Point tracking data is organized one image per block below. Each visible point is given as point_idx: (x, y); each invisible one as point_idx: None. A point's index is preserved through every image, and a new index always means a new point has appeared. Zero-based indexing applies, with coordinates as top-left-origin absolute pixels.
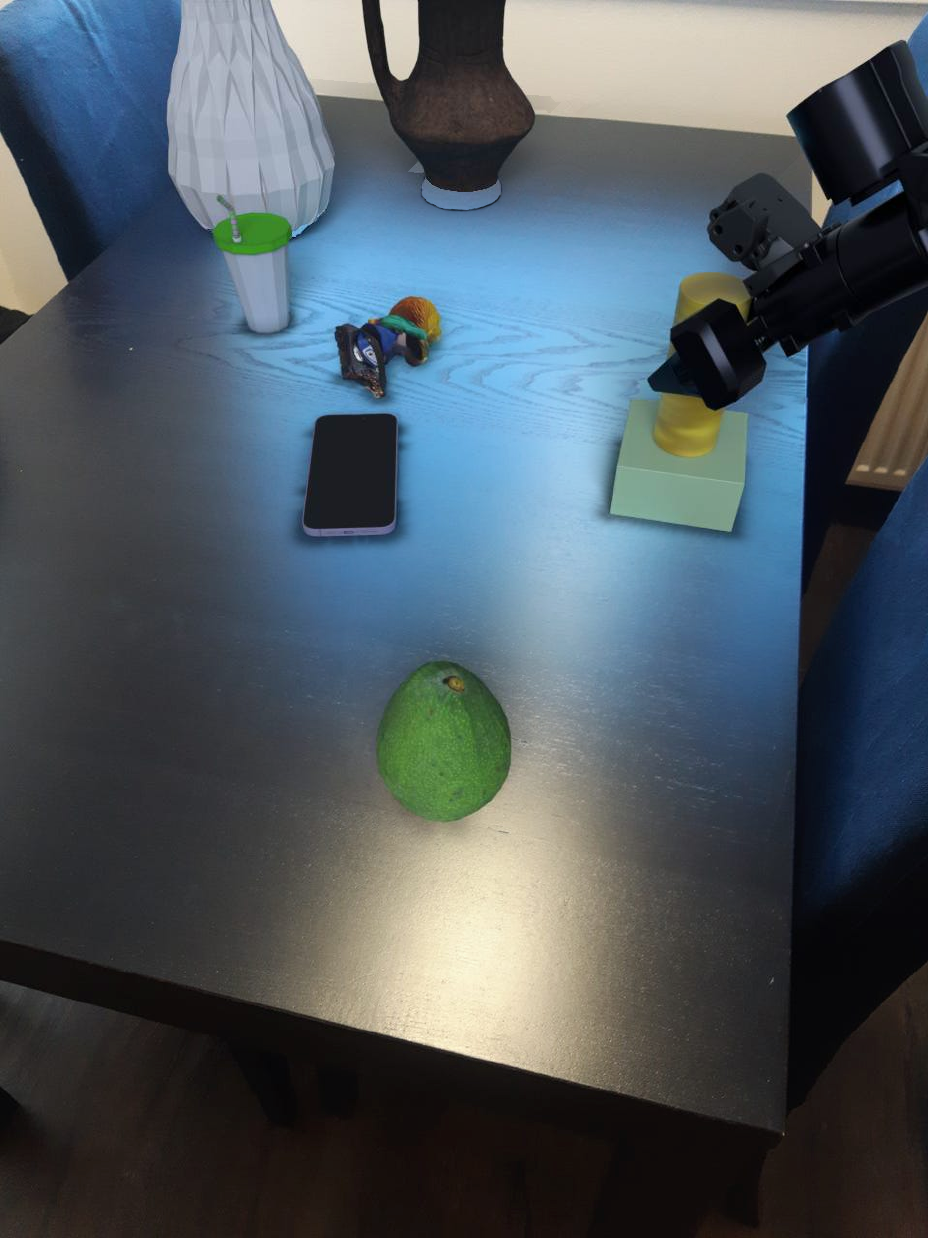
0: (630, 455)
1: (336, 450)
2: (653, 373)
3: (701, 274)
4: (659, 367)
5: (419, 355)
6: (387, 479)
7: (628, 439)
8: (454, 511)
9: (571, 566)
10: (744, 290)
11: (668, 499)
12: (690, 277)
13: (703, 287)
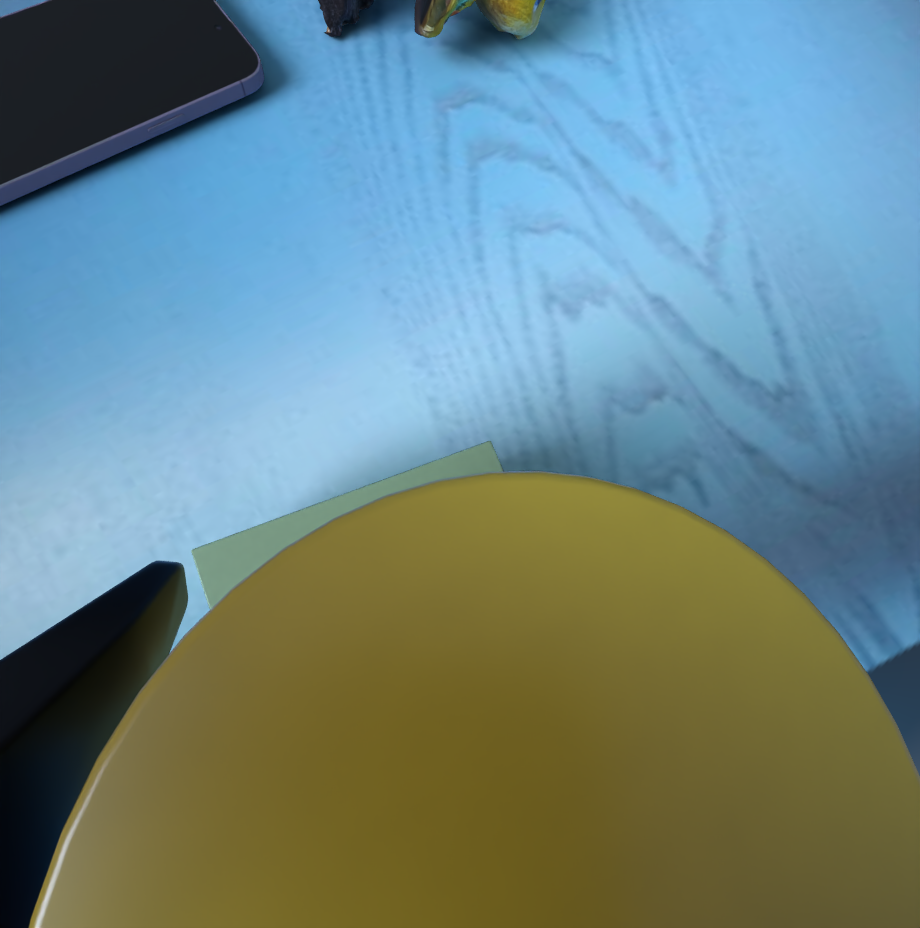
0: (255, 557)
1: (93, 28)
2: (92, 601)
3: (737, 591)
4: (18, 649)
5: (422, 12)
6: (59, 143)
7: (320, 518)
8: (77, 295)
9: (24, 575)
10: None
11: None
12: (596, 525)
13: (475, 783)
